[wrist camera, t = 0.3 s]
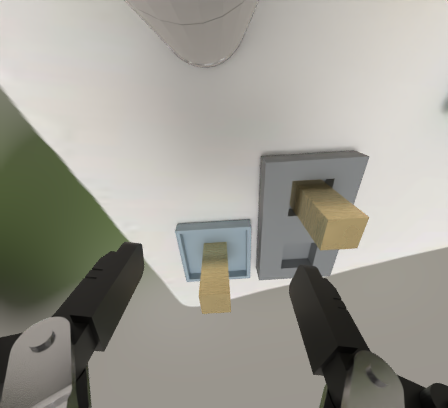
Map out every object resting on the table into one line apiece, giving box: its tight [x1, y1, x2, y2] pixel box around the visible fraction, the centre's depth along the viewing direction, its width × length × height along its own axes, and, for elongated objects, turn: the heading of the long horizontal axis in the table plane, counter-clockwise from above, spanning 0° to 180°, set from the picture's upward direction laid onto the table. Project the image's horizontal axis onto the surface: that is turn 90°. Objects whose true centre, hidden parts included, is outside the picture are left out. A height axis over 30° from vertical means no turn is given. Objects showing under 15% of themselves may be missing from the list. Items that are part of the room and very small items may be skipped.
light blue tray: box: [175, 220, 251, 282], centre depth 33 cm, size 12×12×2 cm
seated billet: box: [289, 179, 369, 250], centre depth 24 cm, size 4×4×10 cm
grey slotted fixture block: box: [256, 151, 369, 280], centre depth 30 cm, size 22×13×3 cm, turn 3°
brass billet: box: [199, 242, 231, 314], centre depth 30 cm, size 4×4×10 cm
